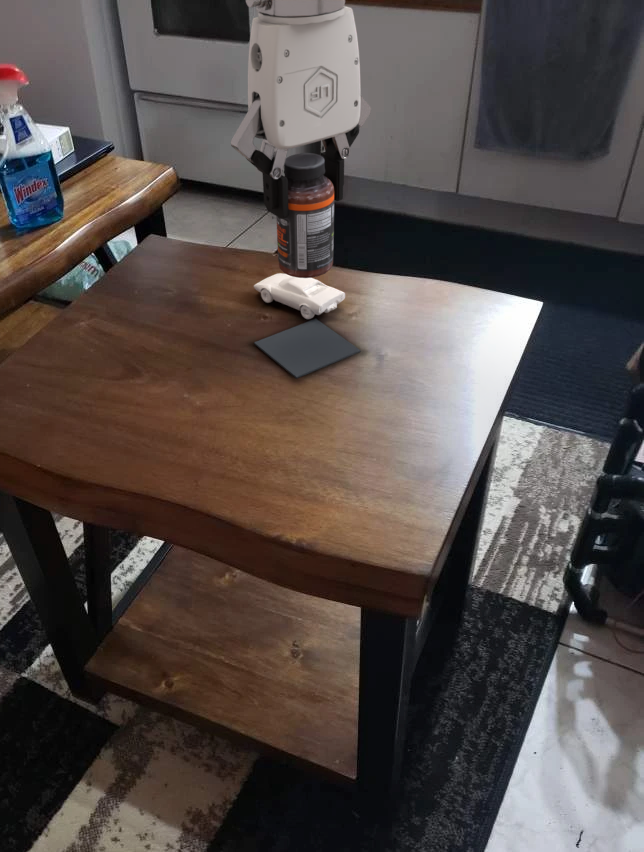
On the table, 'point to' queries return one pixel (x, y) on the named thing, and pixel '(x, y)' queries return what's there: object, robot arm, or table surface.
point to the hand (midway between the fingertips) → (304, 203)
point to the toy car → (300, 294)
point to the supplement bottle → (307, 218)
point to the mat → (306, 348)
